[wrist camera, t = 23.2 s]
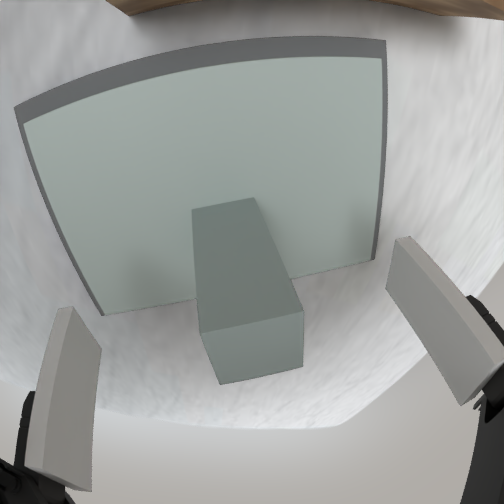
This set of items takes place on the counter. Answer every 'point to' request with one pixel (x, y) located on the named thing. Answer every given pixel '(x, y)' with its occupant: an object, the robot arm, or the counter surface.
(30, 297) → the counter surface
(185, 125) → the lid
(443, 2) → the wooden rack
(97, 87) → the mat
